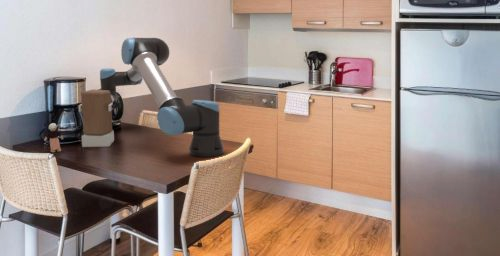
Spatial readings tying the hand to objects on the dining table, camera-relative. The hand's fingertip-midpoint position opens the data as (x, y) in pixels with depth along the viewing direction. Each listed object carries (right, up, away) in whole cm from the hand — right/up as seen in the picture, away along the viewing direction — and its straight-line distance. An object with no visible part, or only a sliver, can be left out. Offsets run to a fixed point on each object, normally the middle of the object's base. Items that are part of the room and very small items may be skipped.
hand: (94, 108), depth 205 cm
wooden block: (0, -12, +6) cm, 13 cm away
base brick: (0, -16, +7) cm, 18 cm away
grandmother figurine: (-15, -19, -7) cm, 26 cm away
